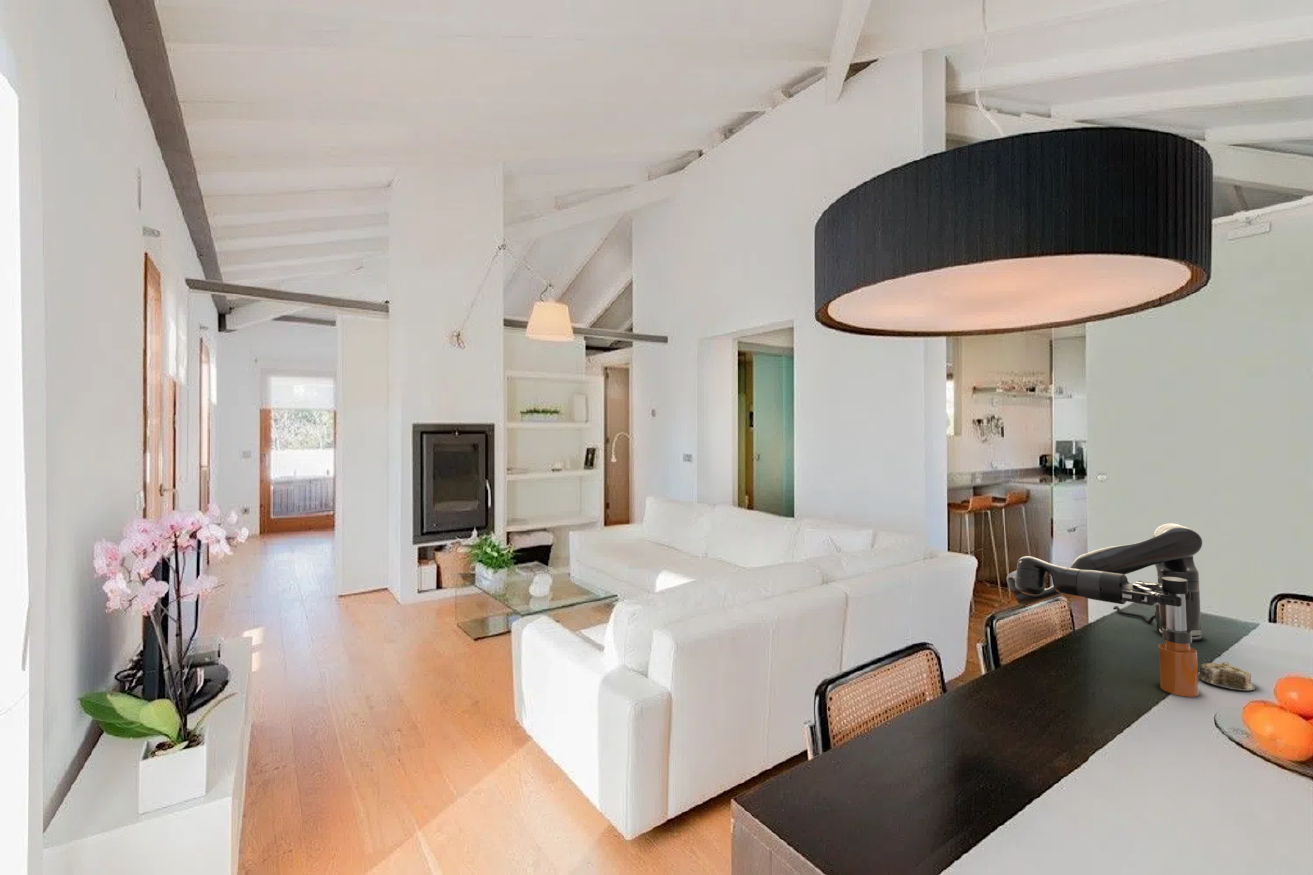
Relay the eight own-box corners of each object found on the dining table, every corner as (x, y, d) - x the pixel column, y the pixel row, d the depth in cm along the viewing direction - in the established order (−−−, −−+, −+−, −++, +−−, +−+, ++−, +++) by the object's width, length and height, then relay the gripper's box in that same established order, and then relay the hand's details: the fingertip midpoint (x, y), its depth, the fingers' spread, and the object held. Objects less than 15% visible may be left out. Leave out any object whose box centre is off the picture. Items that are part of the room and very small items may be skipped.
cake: (1190, 674, 146) (1189, 653, 146) (1243, 681, 142) (1241, 658, 142) (1207, 687, 137) (1206, 664, 137) (1264, 694, 133) (1263, 670, 133)
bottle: (1152, 685, 140) (1150, 625, 140) (1179, 683, 140) (1177, 624, 140) (1178, 697, 133) (1175, 634, 133) (1207, 696, 133) (1204, 633, 133)
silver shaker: (1158, 626, 139) (1156, 577, 139) (1176, 625, 139) (1174, 576, 139) (1176, 633, 134) (1173, 581, 134) (1195, 632, 134) (1192, 580, 135)
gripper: (1111, 595, 152) (1194, 608, 139) (1093, 606, 144) (1178, 620, 131) (1110, 567, 153) (1192, 577, 139) (1091, 576, 144) (1177, 587, 131)
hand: (1185, 598), depth 135 cm, fingers open, 8 cm apart
